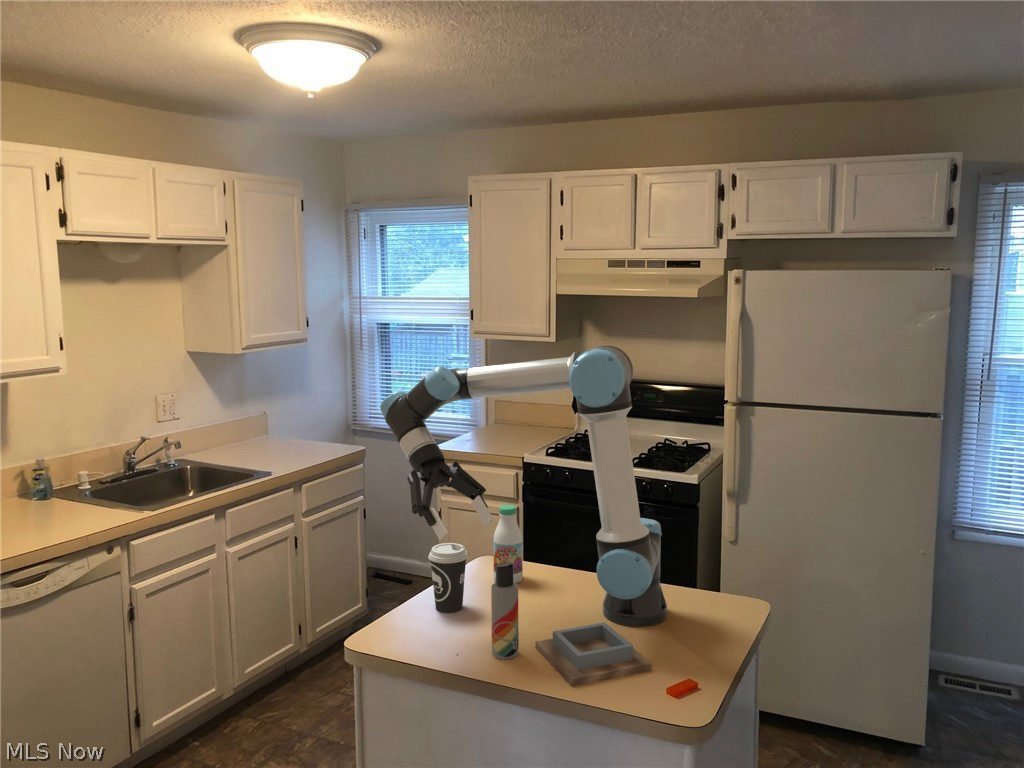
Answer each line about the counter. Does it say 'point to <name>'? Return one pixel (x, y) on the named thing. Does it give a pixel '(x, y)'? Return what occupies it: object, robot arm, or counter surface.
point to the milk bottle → (508, 542)
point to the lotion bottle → (504, 613)
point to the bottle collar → (595, 658)
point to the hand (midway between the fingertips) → (467, 529)
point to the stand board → (591, 674)
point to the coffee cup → (448, 576)
